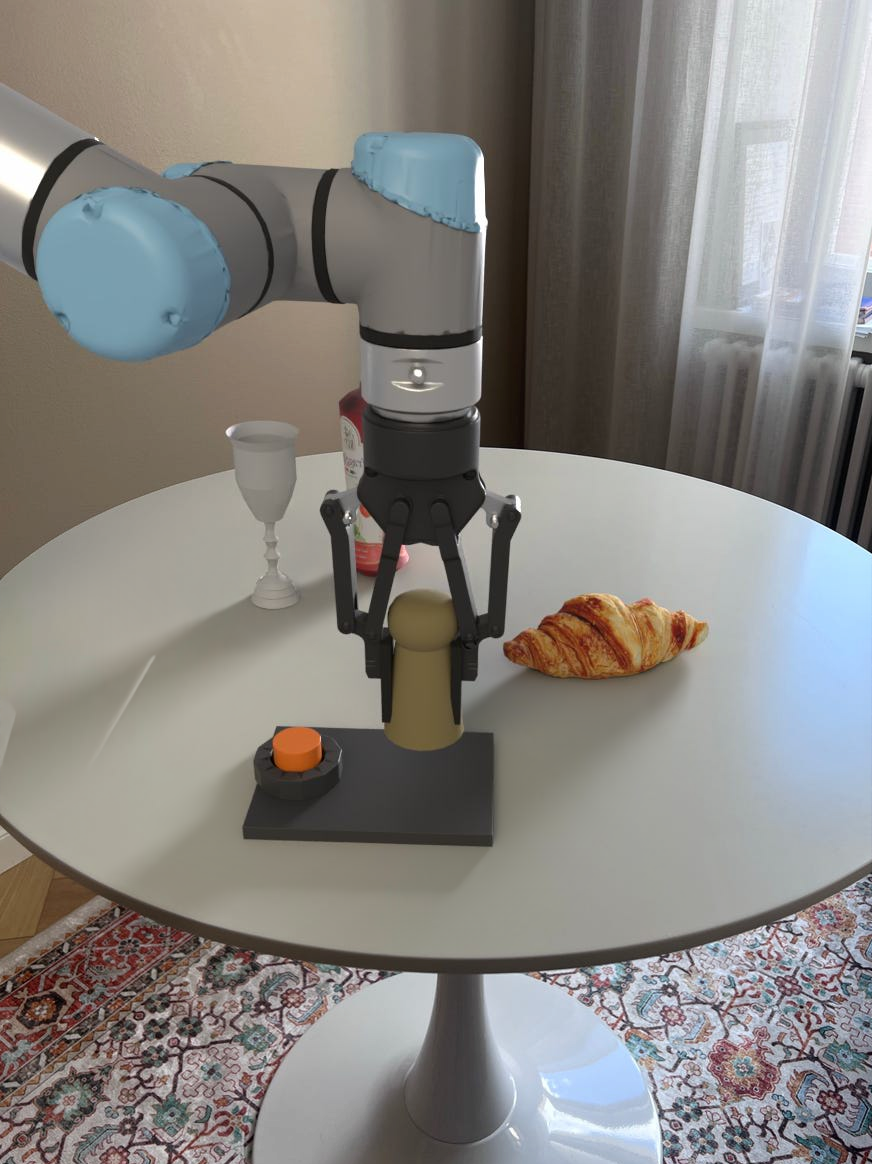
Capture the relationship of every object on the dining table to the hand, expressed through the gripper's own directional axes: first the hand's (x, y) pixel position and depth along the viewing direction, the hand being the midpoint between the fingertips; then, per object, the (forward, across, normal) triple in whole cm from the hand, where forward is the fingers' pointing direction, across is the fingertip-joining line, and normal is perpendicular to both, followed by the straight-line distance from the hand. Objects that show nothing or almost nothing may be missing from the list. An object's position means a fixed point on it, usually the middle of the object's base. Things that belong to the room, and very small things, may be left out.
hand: (422, 713), depth 76 cm
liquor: (+7, -8, +40) cm, 41 cm away
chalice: (+7, -18, +32) cm, 37 cm away
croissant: (+7, +16, +21) cm, 28 cm away
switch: (+5, -9, 0) cm, 11 cm away
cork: (+2, 0, 0) cm, 2 cm away
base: (+7, -4, 0) cm, 8 cm away
